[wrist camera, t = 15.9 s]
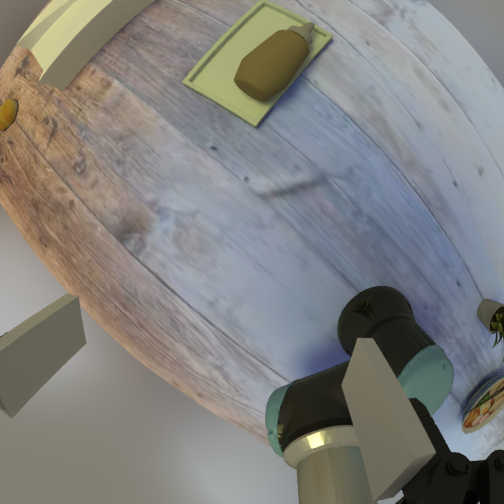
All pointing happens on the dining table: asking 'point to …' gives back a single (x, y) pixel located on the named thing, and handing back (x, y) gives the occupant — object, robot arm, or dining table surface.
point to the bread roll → (8, 113)
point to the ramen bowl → (484, 405)
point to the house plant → (492, 317)
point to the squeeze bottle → (274, 62)
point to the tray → (236, 48)
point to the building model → (75, 34)
